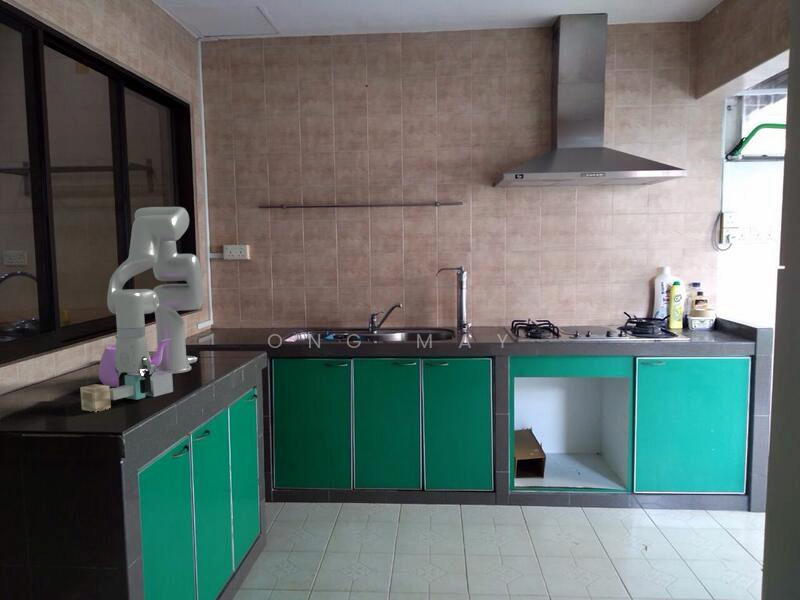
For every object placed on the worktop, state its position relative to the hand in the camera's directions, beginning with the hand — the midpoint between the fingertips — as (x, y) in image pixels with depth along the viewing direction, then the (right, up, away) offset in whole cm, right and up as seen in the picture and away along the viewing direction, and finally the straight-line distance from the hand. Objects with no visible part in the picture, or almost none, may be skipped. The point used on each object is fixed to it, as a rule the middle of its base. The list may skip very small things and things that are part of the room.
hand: (135, 390), depth 180 cm
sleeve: (+4, -2, +7) cm, 8 cm away
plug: (+1, -2, +1) cm, 2 cm away
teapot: (-11, -1, +22) cm, 25 cm away
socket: (-6, -4, -10) cm, 13 cm away
